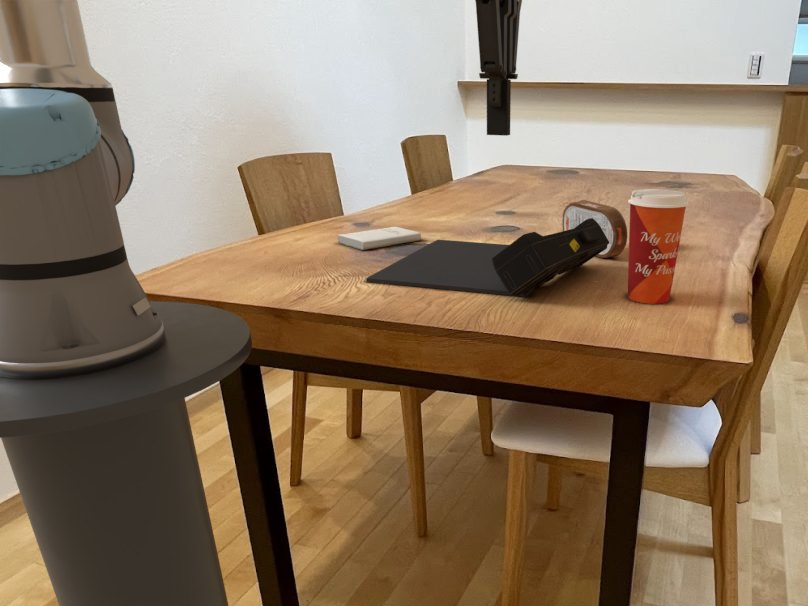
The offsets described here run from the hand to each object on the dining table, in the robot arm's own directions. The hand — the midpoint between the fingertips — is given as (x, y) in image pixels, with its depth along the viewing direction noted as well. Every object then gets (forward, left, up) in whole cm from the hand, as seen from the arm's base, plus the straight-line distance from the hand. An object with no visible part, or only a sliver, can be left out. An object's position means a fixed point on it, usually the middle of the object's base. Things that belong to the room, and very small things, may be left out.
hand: (498, 134), depth 85 cm
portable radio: (+5, -6, -15) cm, 17 cm away
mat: (-7, +11, -20) cm, 24 cm away
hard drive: (-29, +22, -21) cm, 42 cm away
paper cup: (+21, +2, -21) cm, 29 cm away
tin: (+9, +26, -21) cm, 34 cm away
